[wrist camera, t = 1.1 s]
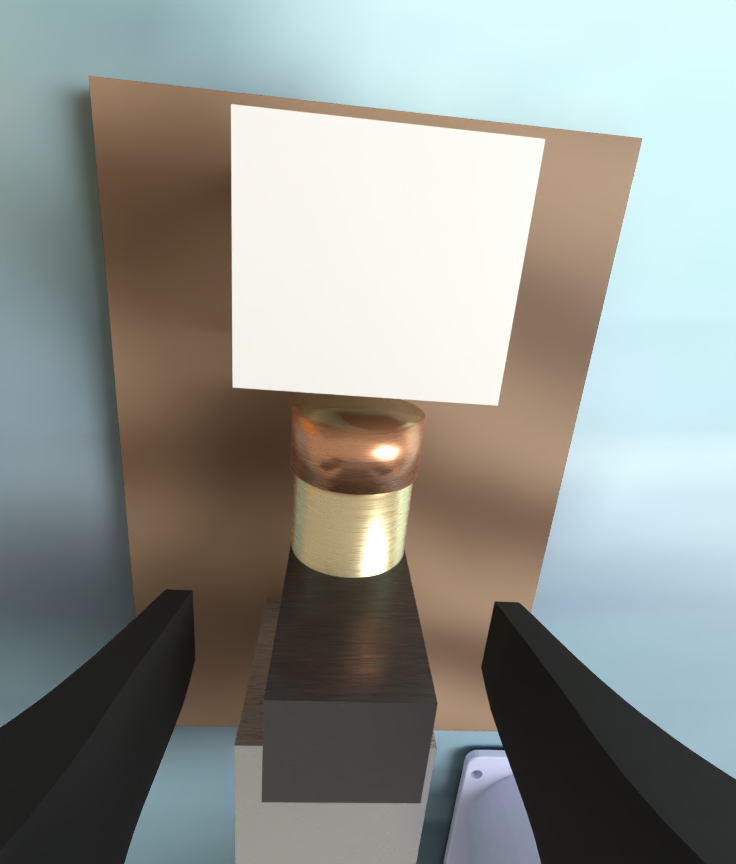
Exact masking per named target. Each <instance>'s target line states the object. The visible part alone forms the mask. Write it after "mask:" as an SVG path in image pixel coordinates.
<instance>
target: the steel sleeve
mask: <svg viewBox="0 0 736 864" xmlns="http://www.w3.org/2000/svg"><path fill="white" fill-rule="evenodd" d="M280 603H281V599H266V604H265V608H264V613H263V617H262V622H261V627H260V631H259V636H258V640H257V645H256V650H255V654H254V659H253V663H252V668H251V672H250V677H249V682H248V686H247V691H246V695H245V700H244V705H243V709H242V714H241V718H240V723H239V728H238V732H237V737H236V741H235V864H416V861H417V856H418V850H419V845H420V839H421V833H422V828H423V822H424V817H425V811H426V805H427V800H428V794H429V789H430V783H431V777H432V772H433V766H434V761H435V755H436V749H437V748H436V743H435V738H434V732H433V734H432V740H431V746H430V751H429V757H428V763H427V769H426V775H425V780H424V786H423V792H422V798H421V803H282V802H262V754H263V703H264V695H265V689H266V683H267V678H268V672H269V666H270V661H271V655H272V649H273V643H274V638H275V632H276V626H277V621H278V615H279V609H280Z"/></svg>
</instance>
